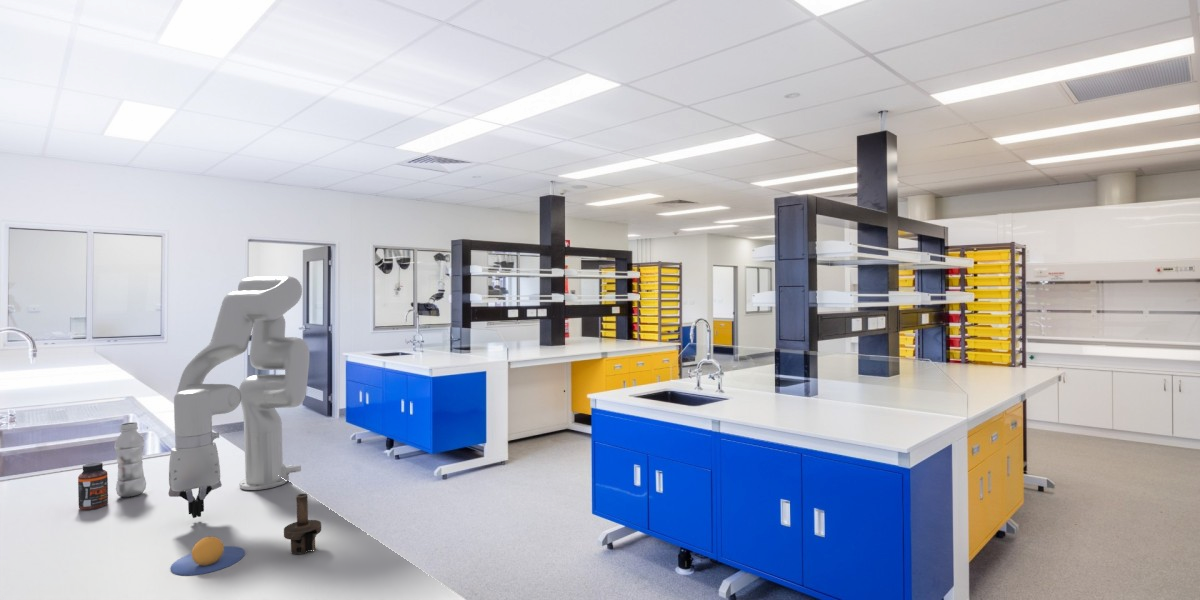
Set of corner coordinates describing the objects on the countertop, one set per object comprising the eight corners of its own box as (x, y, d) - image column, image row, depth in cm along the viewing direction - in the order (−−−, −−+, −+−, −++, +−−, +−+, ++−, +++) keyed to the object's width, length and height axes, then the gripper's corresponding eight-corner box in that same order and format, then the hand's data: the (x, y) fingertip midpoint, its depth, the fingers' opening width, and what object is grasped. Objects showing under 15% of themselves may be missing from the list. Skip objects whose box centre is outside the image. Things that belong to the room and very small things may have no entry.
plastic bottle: (152, 492, 169) (149, 421, 168) (126, 501, 162) (123, 427, 162) (136, 490, 171) (133, 420, 170) (110, 498, 164) (107, 425, 164)
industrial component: (327, 550, 130) (326, 495, 130) (291, 561, 125) (290, 504, 125) (311, 538, 137) (310, 485, 136) (276, 548, 132) (275, 493, 131)
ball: (224, 567, 125) (221, 548, 129) (226, 547, 123) (222, 528, 127) (192, 574, 121) (189, 554, 125) (193, 554, 119) (191, 534, 123)
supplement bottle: (91, 511, 155) (89, 468, 155) (72, 510, 156) (71, 466, 156) (114, 503, 161) (112, 461, 160) (96, 502, 162) (94, 460, 162)
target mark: (238, 541, 135) (238, 540, 135) (250, 561, 125) (250, 560, 125) (167, 559, 127) (167, 558, 127) (174, 582, 117) (174, 581, 117)
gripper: (227, 432, 154) (229, 504, 155) (154, 443, 145) (157, 519, 145) (232, 438, 149) (234, 512, 149) (157, 449, 139) (159, 528, 139)
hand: (196, 515), depth 147 cm, fingers closed
